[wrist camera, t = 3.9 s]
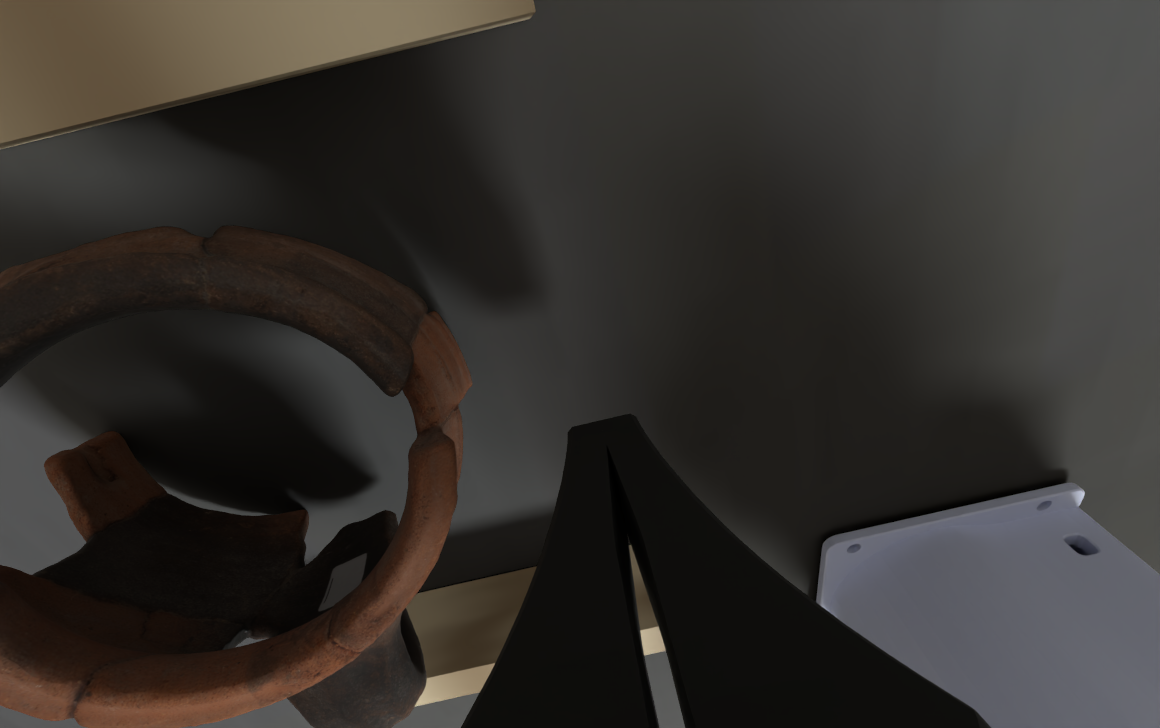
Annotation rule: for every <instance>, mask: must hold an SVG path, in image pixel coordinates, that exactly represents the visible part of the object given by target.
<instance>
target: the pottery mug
mask: <svg viewBox="0 0 1160 728" xmlns="http://www.w3.org/2000/svg"><path fill="white" fill-rule="evenodd" d="M179 309H189V310H202V309H213V310H218V311H224V312H229V313H238V314H244V315H249V316H254V317H259V318H263V319H267V320H271V321H274V322H278V323H281V324H284V325H288V326H291V327H293V328H295V329H298V330H300V331H302V332H304V333H306V334H309V335H311V336H313V337H315V338H317V339H318V340H320V341H322V342H324V343H325V344H327V345H329V346H330V347H332V348H334V349H335V350H337V351H338V352H340V353H341V354H343V355H344V356H346V357H347V358H349V359H350V360H351V361H353V362H354V363H355V364H356V365H357V366H358V367H359V368H360V369H361V370H362V371H363V372H364V373H365V374H366V375H367V376H368V377H369V378H371V379H372V380H373V381H374V382H375V384H376V385H377V386H378V387H379V388H380V389H381V390H382V391H383V392H384V393H385V394H387V395H388V396H391V397H394V396H396V395H398V394H399V393H400V391H401V390H403V392H404V394H405V396H406V397H407V399H408V401H409V403H410V406H411V408H412V411H413V415H414V419H415V424H416V430H417V439H416V440H415V442H414V443H413V444H412V446H411V448H410V450H409V455H408V459H409V471H408V492H407V499H406V505H405V509H404V512H403V515H402V518H401V521H400V524H399V526H398V522H397V518H396V514H395V513H393V512H391V511H387V510H384V511H382V512H379V513H377V514H375V515H373V516H371V517H369V518H367V519H365V520H363V521H359V522H354V523H351V524H348V525H346V526H345V527H343V528H342V529H341V530H340V531H339V532H338V533H337V535H336V536H335V537H334V539H333V540H332V541H331V542H330V543H329V544H328V545H327V546H326V547H325V548H324V549H323V550H322V551H321V552H320V554H319V555H318V556H317V557H316V558H315V559H314V560H312V561H311V562H310V563H309V564H307V565H306V566H305V562H304V556H305V552H306V544H305V542H304V539H305V536H306V532H307V529H308V525H309V515H308V512H307V511H306V510H297V511H292V512H287V513H282V514H277V515H262V516H242V515H237V514H230V513H226V512H220V511H214V510H208V509H203V508H199V507H196V506H194V505H191V504H188V503H186V502H184V501H182V500H180V499H178V498H177V497H175V496H173V495H170V494H168V493H167V492H166V491H165V489H164V488H163V487H162V486H160V485H159V484H158V483H157V482H156V481H155V480H154V479H153V478H152V477H151V476H150V475H149V473H148V472H147V471H146V470H145V469H144V467H143V466H142V465H141V464H140V463H139V462H138V461H137V460H136V458H135V457H134V455H133V453H132V452H131V450H130V449H129V447H128V445H127V444H126V442H125V440H124V438H123V437H122V436H121V435H120V434H119V433H117V432H115V431H109V432H105V433H103V434H101V435H99V436H97V437H95V438H93V439H90V440H88V441H86V442H84V443H83V444H81V445H79V446H78V447H76V448H74V449H71V450H64V451H61V452H58V453H57V454H55V455H53V456H51V457H49V458H48V459H47V460H46V461H45V464H44V467H45V471H46V474H47V476H48V479H49V480H50V482H51V483H52V485H53V486H54V488H55V489H56V491H57V492H58V493H59V495H60V496H61V498H62V500H63V501H64V503H65V504H66V507H67V510H68V513H69V516H70V518H71V519H72V521H73V523H74V525H75V527H76V528H77V530H78V531H79V533H80V534H81V535H82V536H83V538H84V539H85V541H86V544H85V545H84V546H83V547H82V548H81V549H80V550H79V551H78V552H77V553H75V554H73V555H71V556H69V557H67V558H65V559H63V560H61V561H60V562H58V563H56V564H54V565H51V566H49V567H47V568H45V569H43V570H41V571H38V572H36V573H34V574H33V575H29V574H27V573H24V572H22V571H20V570H17V569H14V568H11V567H7V566H2V565H0V705H1V706H4V707H6V708H9V709H12V710H15V711H18V712H21V713H24V714H27V715H30V716H33V717H36V718H39V719H43V720H50V721H59V720H65V719H69V718H75V720H76V721H77V722H78V724H79V725H81V726H83V727H88V728H180V727H187V726H198V725H202V724H207V723H213V722H217V721H221V720H224V719H228V718H232V717H235V716H238V715H241V714H244V713H247V712H250V711H252V710H255V709H259V708H263V707H266V706H268V705H271V704H273V703H275V702H278V701H281V700H283V699H285V698H287V699H288V700H289V701H290V702H291V703H292V704H293V705H294V707H295V708H296V709H297V710H298V711H299V712H300V713H301V714H302V715H303V717H304V718H305V719H306V720H307V721H308V722H309V724H310V725H311V726H313V727H314V728H392V727H393V726H394V725H395V724H396V723H398V722H400V721H401V720H403V719H405V718H406V717H407V716H408V715H409V714H410V713H411V711H412V710H413V708H414V707H415V705H416V703H417V701H418V699H419V698H420V696H421V695H422V693H423V691H424V689H425V686H426V682H427V675H426V669H425V663H424V657H423V652H422V649H421V645H420V641H419V638H418V636H417V634H416V632H415V629H414V627H413V624H412V622H411V619H410V617H409V614H408V611H407V609H406V607H407V606H408V604H409V603H410V602H411V600H412V599H413V597H414V596H415V595H416V594H417V593H418V591H419V590H420V588H421V587H422V585H423V584H424V582H425V581H426V579H427V577H428V575H429V574H430V572H431V571H432V569H433V568H434V566H435V564H436V562H437V561H438V559H439V556H440V553H441V550H442V548H443V545H444V542H445V540H446V537H447V535H448V532H449V530H450V524H451V519H452V515H453V513H454V510H455V508H456V504H457V497H458V495H457V483H458V480H459V477H460V472H461V465H462V454H463V428H462V418H461V414H460V411H459V407H458V404H459V403H460V401H461V400H462V399H463V398H464V396H465V394H466V392H467V390H468V389H469V388H470V387H471V386H472V379H471V375H470V372H469V370H468V367H467V365H466V362H465V360H464V357H463V355H462V353H461V351H460V348H459V346H458V344H457V342H456V341H455V339H454V337H453V335H452V334H451V332H450V330H449V329H448V327H447V326H446V324H445V323H444V321H443V320H442V318H441V317H440V315H439V314H438V313H437V312H435V311H432V312H429V313H428V309H427V305H426V303H425V302H424V300H423V299H422V298H421V297H420V296H419V295H418V294H417V293H416V292H415V291H414V290H413V289H411V288H409V287H407V286H405V285H403V284H401V283H399V282H398V281H397V280H395V279H393V278H391V277H389V276H388V275H386V274H384V273H382V272H380V271H378V270H376V269H373V268H371V267H369V266H367V265H365V264H363V263H361V262H359V261H357V260H355V259H353V258H350V257H347V256H345V255H342V254H340V253H338V252H336V251H334V250H331V249H328V248H325V247H322V246H320V245H317V244H313V243H310V242H307V241H304V240H301V239H298V238H294V237H290V236H286V235H280V234H274V233H271V232H266V231H262V230H256V229H253V228H247V227H241V226H234V225H233V226H222V227H220V228H218V229H217V230H216V232H215V233H214V235H213V236H212V237H211V238H204V237H199V236H195V235H193V234H191V233H189V232H187V231H185V230H183V229H181V228H176V227H155V228H151V229H146V230H140V231H134V232H127V233H123V234H119V235H114V236H111V237H108V238H105V239H102V240H99V241H96V242H90V243H86V244H83V245H80V246H78V247H76V248H74V249H71V250H68V251H64V252H61V253H58V254H54V255H50V256H47V257H44V258H40V259H37V260H33V261H30V262H27V263H25V264H22V265H18V266H12V267H10V268H8V269H6V270H5V271H3V272H1V273H0V387H1V386H3V385H4V384H5V383H6V382H7V381H8V380H9V379H10V378H11V377H12V376H13V375H14V374H15V373H16V372H17V371H18V370H20V369H21V368H22V367H23V366H25V365H26V364H27V363H28V362H30V361H31V360H32V359H34V358H35V357H36V356H38V355H39V354H40V353H42V352H43V351H45V350H46V349H48V348H49V347H51V346H52V345H54V344H56V343H57V342H59V341H61V340H63V339H65V338H67V337H69V336H71V335H73V334H75V333H77V332H79V331H82V330H84V329H87V328H89V327H92V326H95V325H98V324H101V323H104V322H108V321H110V320H113V319H117V318H123V317H126V316H130V315H133V314H139V313H144V312H151V311H159V310H179ZM249 637H250V638H252V639H256V640H257V639H266V638H269V639H266V640H263V641H259V642H256V643H252V644H249V645H245V646H241V647H236V646H237V645H238V644H239V643H241V642H242V641H243V640H244V639H246V638H249Z"/></svg>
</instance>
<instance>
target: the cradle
mask: <svg viewBox="0 0 1160 728" xmlns="http://www.w3.org/2000/svg"><path fill="white" fill-rule="evenodd" d="M535 12H536V10H535V6H534V1H533V0H0V149H4V148H8V147H12V146H16V145H20V144H25V143H29V142H33V141H37V140H41V139H45V138H49V137H53V136H57V135H61V134H65V133H69V132H73V131H77V130H81V129H85V128H89V127H94V126H98V125H102V124H106V123H110V122H114V121H118V120H122V119H126V118H130V117H134V116H138V115H142V114H146V113H150V112H154V111H159V110H163V109H167V108H171V107H175V106H179V105H183V104H187V103H191V102H195V101H199V100H203V99H207V98H211V97H215V96H219V95H223V94H228V93H232V92H236V91H240V90H244V89H248V88H252V87H256V86H260V85H264V84H268V83H272V82H276V81H280V80H284V79H288V78H292V77H297V76H301V75H305V74H309V73H313V72H317V71H321V70H325V69H329V68H333V67H337V66H341V65H345V64H349V63H353V62H357V61H361V60H366V59H370V58H374V57H378V56H382V55H386V54H390V53H394V52H398V51H402V50H406V49H410V48H414V47H418V46H422V45H426V44H430V43H435V42H439V41H443V40H447V39H451V38H455V37H459V36H463V35H467V34H471V33H475V32H479V31H483V30H487V29H491V28H495V27H500V26H504V25H508V24H512V23H516V22H520V21H524V20H528V19H530V18H531V17H532V15H533V14H534V13H535ZM629 550H630V557H631V565H632V572H633V580H634V587H635V595H636V602H637V610H638V617H639V624H640V632H641V639H642V646H643V651H644V655H648V654H653V653H657V652H662V651H666V649H665V646H664V643H663V639H662V636H661V633H660V630H659V627H658V624H657V621H656V618H655V615H654V612H653V609H652V606H651V603H650V600H649V597H648V594H647V591H646V588H645V585H644V582H643V579H642V576H641V573H640V570H639V567H638V564H637V561H636V558H635V555H634V552H633V549H632V546H631V545H629ZM536 567H537V566H536ZM536 567H531V568H527V569H522V570H518V571H514V572H509V573H505V574H500V575H496V576H492V577H487V578H483V579H478V580H474V581H470V582H465V583H461V584H456V585H452V586H447V587H443V588H439V589H434V590H430V591H425V592H421V593H417V594H416V595H415V596H414V597H413V599H412V600H411V602H410V603H409V604H408V606H407V607H406V609H407V611H408V614H409V617H410V619H411V622H412V624H413V627H414V629H415V632H416V634H417V636H418V638H419V641H420V645H421V649H422V652H423V657H424V663H425V669H426V675H427V682H426V686H425V689H424V691H423V693H422V695H421V696H420V698H419V699H418V701H417V703H416V705H415V706H419V705H424V704H428V703H433V702H437V701H442V700H446V699H451V698H455V697H460V696H464V695H469V694H473V693H478V692H480V691H481V689H482V688H483V686H484V684H485V682H486V680H487V678H488V676H489V674H490V673H491V671H492V669H493V667H494V665H495V663H496V661H497V658H498V656H499V654H500V652H501V650H502V648H503V646H504V644H505V642H506V639H507V637H508V635H509V633H510V630H511V628H512V626H513V624H514V622H515V619H516V617H517V615H518V613H519V611H520V608H521V606H522V603H523V601H524V598H525V596H526V593H527V591H528V588H529V586H530V583H531V581H532V578H533V576H534V573H535V570H536Z"/></svg>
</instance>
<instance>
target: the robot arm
mask: <svg viewBox="0 0 1160 728" xmlns="http://www.w3.org/2000/svg"><path fill="white" fill-rule="evenodd" d="M1084 494H1085V492H1084V490H1083V489H1082V488H1080V487H1079V486H1078V485H1076V484H1075V483H1064V484H1059V485H1055V486H1050V487H1046V488H1041V489H1037V490H1033V491H1028V492H1024V493H1019V494H1015V495H1010V496H1006V497H1002V498H997V499H993V500H988V501H984V502H979V503H975V504H971V505H966V506H962V507H957V508H953V509H948V510H944V511H939V512H935V513H931V514H926V515H922V516H917V517H913V518H908V519H904V520H900V521H895V522H891V523H886V524H882V525H877V526H873V527H869V528H864V529H860V530H855V531H851V532H846V533H842V534H838V535H834V536H831V537H829V538H828V539H826V541H825V542H824V543H823V546H822V552H821V561H820V571H819V580H818V589H817V598H816V602H815V601H814V600H812V599H811V598H810V597H809V596H807V595H806V594H805V593H803V592H802V591H801V590H799V589H798V588H797V587H795V586H794V585H793V584H791V583H790V582H789V581H788V580H786V579H785V578H784V577H783V576H781V575H780V574H779V573H778V572H777V571H775V570H774V569H773V568H772V567H771V566H769V565H768V564H767V563H766V562H765V561H764V560H762V559H761V558H760V557H759V556H758V555H757V554H755V553H754V552H753V551H752V550H751V549H750V548H749V547H748V546H746V545H745V544H744V543H743V542H742V541H741V540H740V539H739V538H738V537H736V536H735V535H734V534H733V533H732V532H731V531H730V530H729V529H728V528H727V527H726V526H725V525H724V524H723V523H722V522H721V521H720V520H719V519H718V518H717V517H716V516H715V515H714V514H713V513H712V512H711V511H710V510H709V509H708V508H707V507H706V506H705V505H704V504H703V503H702V502H701V501H700V500H699V499H698V498H697V497H696V495H695V494H694V493H693V492H692V491H691V490H690V489H689V488H688V487H687V486H686V484H685V483H684V482H683V481H682V480H681V479H680V477H679V476H678V475H677V474H676V473H675V472H674V470H673V469H672V468H671V467H670V466H669V464H668V463H667V462H666V461H665V459H664V458H663V457H662V456H661V454H660V453H659V452H658V450H657V449H656V448H655V446H654V445H653V444H652V442H651V441H650V439H649V438H648V436H647V435H646V433H645V432H644V430H643V428H642V427H641V425H640V423H639V422H638V420H637V418H636V417H635V416H634V415H632V414H626V415H622V416H618V417H613V418H609V419H605V420H600V421H596V422H592V423H587V424H583V425H579V426H574V427H572V428H571V429H570V430H569V432H568V444H567V453H566V460H565V466H564V471H563V477H562V482H561V486H560V490H559V494H558V498H557V502H556V507H555V511H554V514H553V518H552V521H551V524H550V528H549V531H548V534H547V537H546V540H545V544H544V547H543V550H542V553H541V556H540V559H539V562H538V565H537V567H536V570H535V573H534V576H533V578H532V581H531V583H530V586H529V588H528V591H527V593H526V596H525V598H524V601H523V603H522V606H521V608H520V611H519V613H518V615H517V617H516V619H515V622H514V624H513V626H512V628H511V630H510V633H509V635H508V637H507V639H506V642H505V644H504V646H503V648H502V650H501V652H500V654H499V656H498V658H497V661H496V663H495V665H494V667H493V669H492V671H491V673H490V674H489V676H488V678H487V680H486V682H485V684H484V686H483V688H482V689H481V691H480V693H479V695H478V697H477V699H476V701H475V702H474V704H473V706H472V708H471V710H470V712H469V714H468V715H467V717H466V719H465V721H464V723H463V725H462V727H461V728H659V724H658V719H657V714H656V710H655V705H654V700H653V696H652V691H651V687H650V682H649V677H648V673H647V668H646V663H645V657H644V651H643V646H642V639H641V632H640V624H639V617H638V610H637V602H636V595H635V587H634V580H633V572H632V565H631V557H630V550H629V543H628V537H629V540H630V543H631V546H632V549H633V552H634V555H635V558H636V561H637V564H638V567H639V570H640V573H641V576H642V579H643V582H644V585H645V588H646V591H647V594H648V597H649V600H650V603H651V606H652V609H653V612H654V615H655V618H656V621H657V624H658V627H659V630H660V633H661V636H662V639H663V643H664V646H665V649H666V653H667V656H668V660H669V663H670V667H671V672H672V676H673V680H674V684H675V688H676V692H677V696H678V700H679V704H680V708H681V712H682V716H683V720H684V724H685V728H1160V574H1159V573H1157V572H1156V571H1155V570H1154V569H1153V568H1151V567H1150V566H1149V565H1148V564H1147V563H1145V562H1144V561H1143V560H1142V559H1141V558H1139V557H1138V556H1137V555H1136V554H1134V553H1133V552H1132V551H1131V550H1130V549H1128V548H1127V547H1126V546H1125V545H1124V544H1122V543H1121V542H1120V541H1119V540H1118V539H1116V538H1115V537H1114V536H1113V535H1111V534H1110V533H1109V532H1108V531H1107V530H1105V529H1104V528H1103V527H1102V526H1101V525H1099V524H1098V523H1097V522H1096V521H1095V520H1093V519H1092V518H1091V517H1090V516H1089V515H1087V514H1086V513H1085V512H1084V511H1082V510H1081V509H1080V508H1079V505H1080V503H1081V501H1082V499H1083V498H1084ZM624 521H625V522H624ZM627 534H628V535H627Z"/></svg>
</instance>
